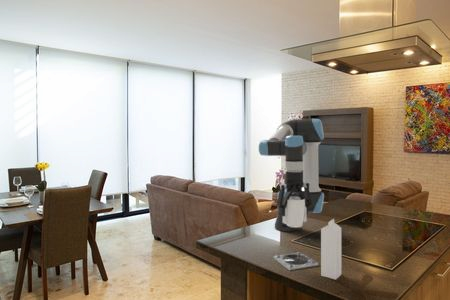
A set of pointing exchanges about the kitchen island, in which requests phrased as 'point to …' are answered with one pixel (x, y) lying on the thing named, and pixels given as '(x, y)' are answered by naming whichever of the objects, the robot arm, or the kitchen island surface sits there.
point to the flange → (295, 260)
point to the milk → (331, 250)
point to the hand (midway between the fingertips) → (294, 222)
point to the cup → (295, 211)
